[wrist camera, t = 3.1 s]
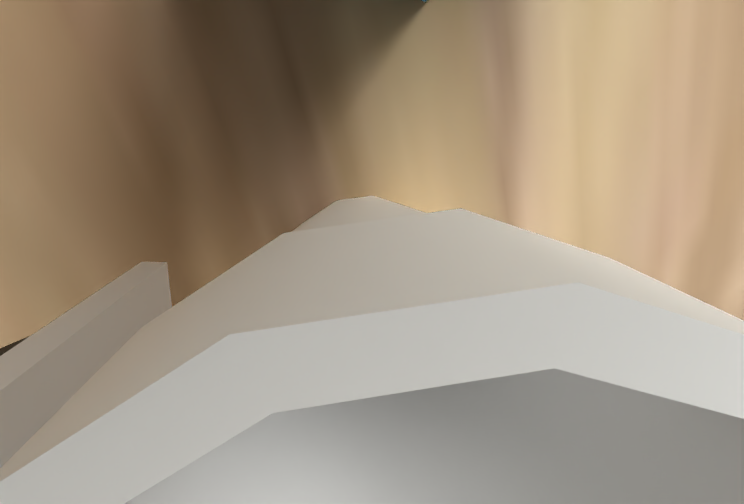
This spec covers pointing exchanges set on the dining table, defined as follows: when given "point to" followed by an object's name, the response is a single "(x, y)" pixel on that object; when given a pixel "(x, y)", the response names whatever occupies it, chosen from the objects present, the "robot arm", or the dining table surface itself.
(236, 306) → the foam cup
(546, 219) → the dining table surface
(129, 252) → the dining table surface
